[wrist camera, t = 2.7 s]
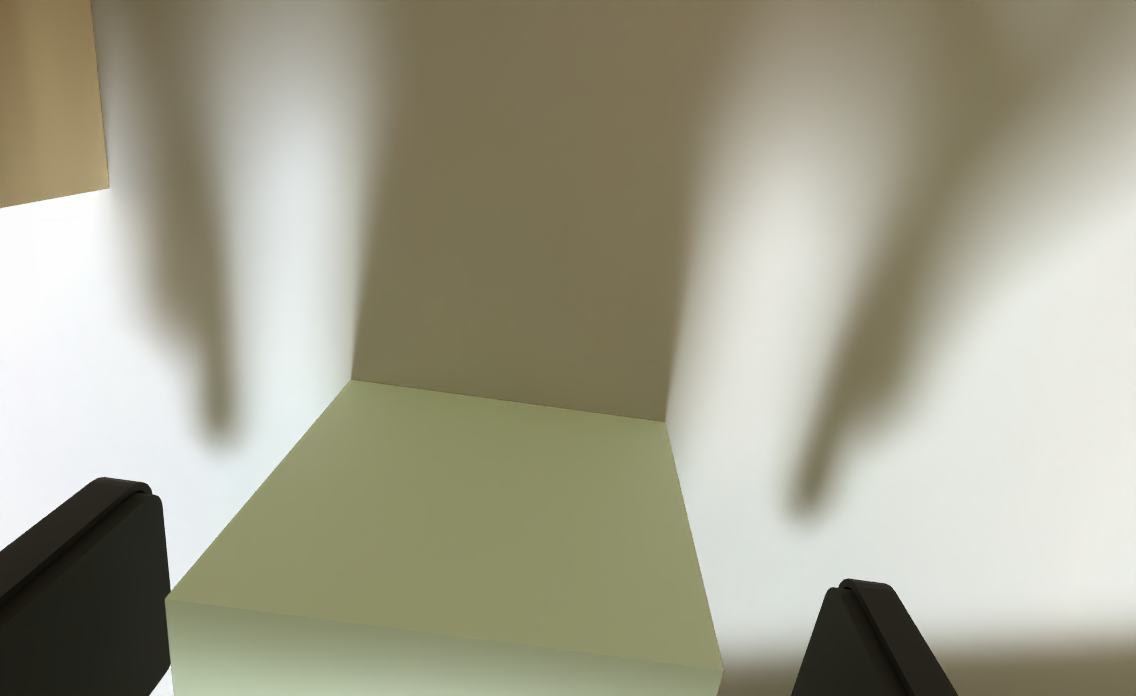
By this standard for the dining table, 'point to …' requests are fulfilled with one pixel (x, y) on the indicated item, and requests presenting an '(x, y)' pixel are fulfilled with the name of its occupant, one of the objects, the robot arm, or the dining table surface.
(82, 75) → the birch block
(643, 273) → the dining table surface
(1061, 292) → the dining table surface
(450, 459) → the green cube
